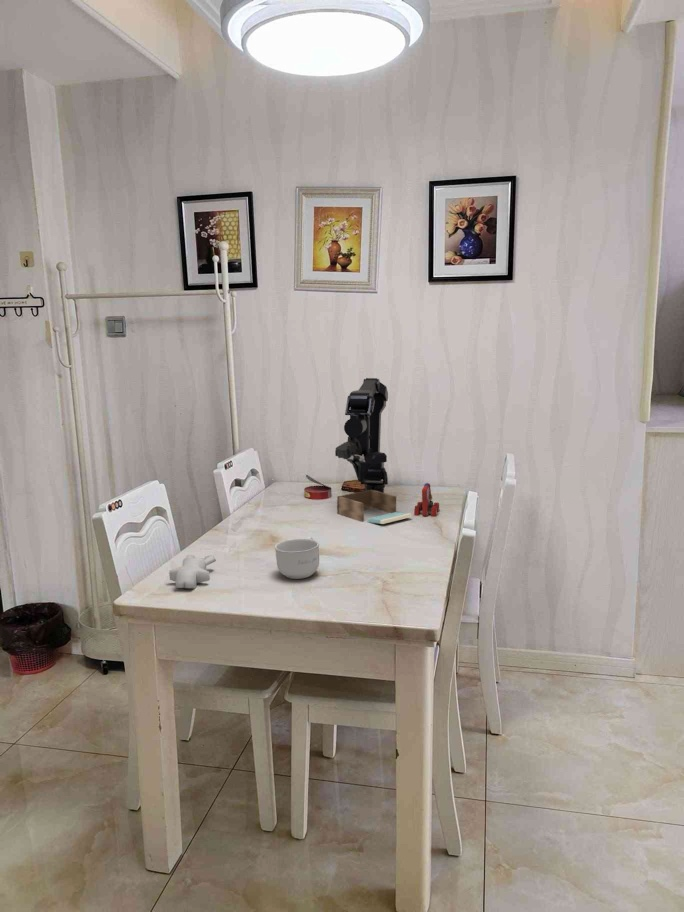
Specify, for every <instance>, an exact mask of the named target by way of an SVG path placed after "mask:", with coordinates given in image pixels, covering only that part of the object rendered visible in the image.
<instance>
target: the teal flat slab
mask: <svg viewBox="0 0 684 912" xmlns="http://www.w3.org/2000/svg"><path fill="white" fill-rule="evenodd" d="M408 518H412V513H411V512H410V513H409V512H398V511H396V512H394V513H386V514H381V515H377V516H374V517H369V518H367V523H373V524H380V525H385V524H388V523H393V522H397V521H401V520H404V519H408Z"/></svg>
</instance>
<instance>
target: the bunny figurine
mask: <svg viewBox="0 0 684 912" xmlns="http://www.w3.org/2000/svg"><path fill="white" fill-rule="evenodd" d="M216 561H217V560H216V557H215V556H214V554H213V555H212V554H210V555H207V556H205V557H195V555H193V554H187V555H186V556H185V558H183V559H182V564H181V565H182V566H180V567H177V568H174V569H171V570H169V581H171V582H174V583H175V588H176V589H197V586H198V585H197V584H201V583H204V582H209V581H210V580H211V579H210V577H211V576H210V571H209V570H207V566H209V565H211V564H213V563H215V562H216Z"/></svg>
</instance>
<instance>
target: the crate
mask: <svg viewBox="0 0 684 912" xmlns="http://www.w3.org/2000/svg"><path fill="white" fill-rule="evenodd" d="M336 497H337V498H336V502H337V503H336V504H337V507H336V508H337V510H336V511H337V512H336V513H337V515H340V516H343V517H345V518H349V519H352V520H355V521H357V522H361V523H363V522H364V521H365V516H364V515H365V512H364V511H365V510H366V509H368V508H369V509H370V508H372V509H376V510H378V511H382V512H386V513H388V514H390V513H394V512H397V496H396V495H393V494H389V493H387V492H384V493H382V492H379V491H375V490H367V491H365V490H363V491H358V492H353V493H348V494H342V495H337V496H336Z"/></svg>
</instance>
